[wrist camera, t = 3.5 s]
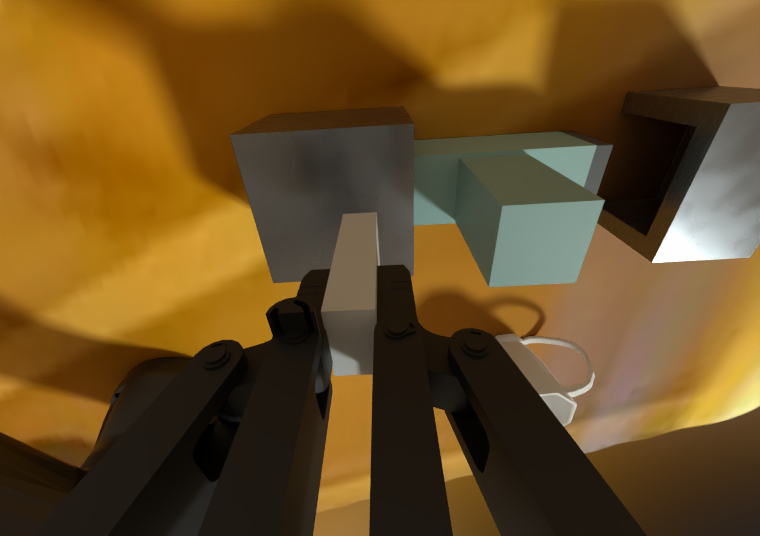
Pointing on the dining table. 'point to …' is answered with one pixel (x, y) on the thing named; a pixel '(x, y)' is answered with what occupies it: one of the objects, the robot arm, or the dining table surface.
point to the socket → (698, 178)
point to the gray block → (328, 184)
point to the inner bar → (515, 200)
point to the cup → (547, 373)
